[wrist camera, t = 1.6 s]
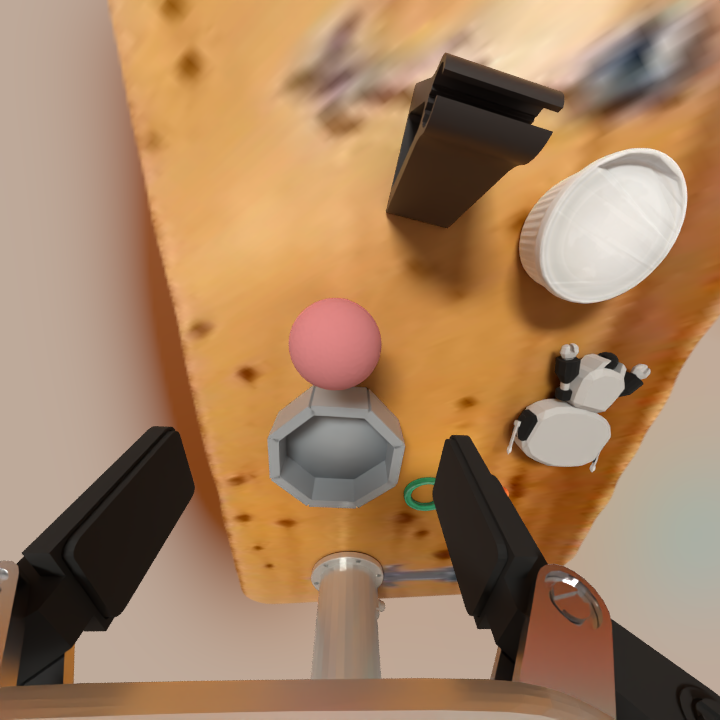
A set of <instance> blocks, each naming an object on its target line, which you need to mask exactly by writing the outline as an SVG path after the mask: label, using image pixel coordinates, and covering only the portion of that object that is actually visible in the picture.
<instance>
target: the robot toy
mask: <svg viewBox="0 0 720 720" xmlns="http://www.w3.org/2000/svg"><path fill="white" fill-rule="evenodd" d="M578 353H579V349H578V346H577V345H576V344H573V343H572V344H570V345H568V344H566V345H563V346H562V347H561V350H560V354H561V356H559V357H557V358H556V364H555V373H556V375H557V377H558V378H559V380H560V381H561V383H560V387H558V388H556V389H555V397H556V398H557V399H545V400H541V401H538V402H535V403H533V404H531V405H529V406H528V407H526V409H525V410H524V411H522V413H521V415H520V416H519V418H518V420H515V422H514V427H513V432H512V433H513V434H512V437H511V440H510V443H509V446H508V447H507V453H508V454H509V453H510V452H511V450H512V444H513V441H515V443H516V444H517V445H518V446H519V448H520V449H521V450H522V451H523V452H524V453H525V454H526V455H527V456H528V457H530V458H532V459H533V460H535V461H538V462H540V463H543V464H545V465H548V466H560V467H570V466H581V465H584V464H586V463H589V462H591V461H593V462H592V465H591V466H590V471H591V472H593V471H594V470H595V465H596V462H597V459H598V456H599V453H600V451H601V450H602V448H603V447H604V446H605V444H606V443H607V441H608V440H609V438H610V437H611V433H610V425H609V424H608V422H607V420H606V419H605V418H603V417H602V416H600V415H599V414H597V413H598V412H604V411H606V410H607V409H608V408H609V407H610V406H611V404H612V403H613V402H614V401H615V400H616V399H617V397H621V396H626V395H630V394H631V393H633V392H634V391H635V390H637V389H638V388H639V387H640V386H642V385H643V382H642V381H641V380H640V379H644V378H647V376H648V375H649V374H650V369H649V368H647V365H645V364H638V365H636V366H634V367H633V368H632V370H631V372H630V373H629V372H626V367H625V366H624V365H623V364H622V363H619V362H618V358H617V356H616V355H614V354H612V353H608V352H603V353H600V354H598V355H596V354H589V355H585V356H584V357H583V358H582V359H581V360H580V359H578V358H577V357H576V355H577V354H578ZM595 412H596V413H595Z"/></svg>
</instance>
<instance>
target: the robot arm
mask: <svg viewBox="0 0 720 720" xmlns="http://www.w3.org/2000/svg"><path fill="white" fill-rule="evenodd" d="M194 489H195V486H194V482H193V478H192V475H191V471H190V468H189V465H188V461H187V458H186V454H185V451H184V447H183V444H182V440H181V437H180V434H179V432H177V431H175V429H174V428H173V427H159V426H154V427H151V428H150V429H148V430H147V432H145V433H144V434H143V435H142V436H141V437H140V438H139V439H138V440H137V441H136V442H135V443H134V444H133V445H132V446H131V447H130V448H129V449H128V450H127V451H126V452H125V453H124V454H123V455H122V456H121V457H120V458H119V459H118V460H117V461H116V462H115V463H114V464H113V465H112V466H110V468H108V469H107V470H106V471H105V472H104V473H103V474H102V475H101V476H100V477H99V478H98V479H97V480H96V481H95V482H94V483H93V484H92V485H91V486H90V487H89V488H88V489H87V490H86V491H85V492H84V493H83V494H82V495H81V496H80V497H79V498H78V499H77V500H76V501H75V502H74V503H72V504H71V505H70V507H68V508H67V509H66V510H65V511H64V512H63V513H62V514H61V515H60V516H59V517H58V518H57V519H56V520H55V521H54V522H53V523H52V524H51V525H50V526H49V527H48V528H47V529H46V530H45V531H44V532H43V533H42V534H41V535H40V536H39V537H38V538H37V539H36V540H35V541H33V542H32V543H31V545H29V546H28V547H27V548H26V550H24V551H23V552H22V554H23V555H24V557H23V558H22V559H21V560H20V561H19V562H18V563H17V564H15V563H14V562H12V561H0V720H720V696H718V695H717V694H716V693H715V692H713V691H712V690H710V689H709V688H708V687H706V686H705V685H703V684H702V683H701V682H699V681H698V680H697V679H695V678H694V677H692V676H691V675H690V674H688V673H686V672H685V671H684V670H682V669H681V668H680V667H678V666H677V665H675V664H674V663H673V662H671V661H670V660H668V659H667V658H666V657H664V656H663V655H661V654H660V653H659V652H657V651H656V650H654V649H653V648H652V647H650V646H649V645H647V644H646V643H644V642H643V641H642V640H640V639H639V638H637V637H636V636H635V635H633V634H632V633H630V632H629V631H628V630H626V629H625V628H623V627H622V626H621V625H619V624H618V623H616V622H615V621H614V620H612V619H611V618H610V613H609V611H608V609H607V607H606V605H605V603H604V601H603V599H602V598H601V597H600V595H599V594H598V593H597V591H596V590H595V589H594V588H593V587H592V586H591V585H590V584H589V583H588V582H587V581H586V580H585V579H584V578H583V577H581V576H580V575H578V574H577V573H575V572H574V571H572V570H570V569H568V568H566V567H564V566H561V565H556V564H547V562H546V560H545V559H544V557H543V555H542V553H541V552H540V550H539V548H538V547H537V545H536V543H535V541H534V540H533V538H532V536H531V535H530V533H529V531H528V530H527V528H526V526H525V524H524V523H523V521H522V519H521V518H520V516H519V514H518V512H517V511H516V509H515V507H514V506H513V504H512V502H511V501H510V499H509V497H508V495H507V494H506V492H505V490H504V489H503V487H502V485H501V483H500V482H499V480H498V479H497V478H496V477H495V476H494V475H491V473H490V472H489V470H488V468H487V466H486V465H485V463H484V461H483V459H482V458H481V456H480V454H479V452H478V451H477V449H476V447H475V445H474V444H473V442H472V440H471V438H470V437H469V436H466V435H451V437H450V439H446V440H445V443H444V447H443V451H442V455H441V459H440V463H439V467H438V471H437V475H436V479H435V483H434V487H433V501H434V504H435V508H436V511H437V514H438V518H439V521H440V524H441V528H442V531H443V534H444V538H445V541H446V544H447V548H448V551H449V554H450V558H451V561H452V564H453V568H454V571H455V574H456V578H457V581H458V584H459V588H460V591H461V594H462V598H463V601H464V604H465V607H466V610H467V612H468V614H469V615H470V616H474V619H475V622H476V625H477V628H478V629H491V631H492V634H493V637H494V640H495V642H496V645H498V649H497V654H496V658H495V662H494V666H493V670H492V674H491V679H490V680H489V679H434V678H433V679H432V678H408V679H407V678H405V679H404V678H403V679H381V671H380V655H379V640H378V625H377V619H378V617H379V611H381V612H382V611H384V609H385V603H384V602H383V601H381V600H379V599H378V590H377V588H378V587H379V586H380V585H381V583H382V581H383V570H382V567H381V565H380V563H379V562H378V561H377V560H375V559H374V558H373V557H371V556H369V555H366V554H363V553H358V552H339V553H334V554H331V555H328V556H326V557H324V558H322V559H321V560H319V561H318V562H317V563H316V564H315V565H314V567H313V569H312V575H311V581H312V584H313V585H314V587H315V588H316V589H317V590H318V591H319V597H318V609H317V619H316V629H315V640H314V650H313V661H312V672H311V679H304V680H239V681H238V680H236V681H235V680H233V681H173V682H126V683H125V682H124V683H79V684H73V682H74V648H75V642H76V641H77V639H78V638H79V636H80V635H81V633H82V632H83V631H106V630H107V629H108V627H109V625H110V624H111V622H112V620H113V619H114V617H117V616H118V615H120V614H121V612H123V610H124V609H125V607H126V606H127V604H128V603H129V601H130V599H131V597H132V596H133V594H134V593H135V591H136V589H137V588H138V586H139V584H140V583H141V581H142V579H143V578H144V576H145V574H146V573H147V571H148V569H149V567H150V566H151V564H152V563H153V561H154V559H155V558H156V556H157V554H158V553H159V551H160V549H161V548H162V546H163V544H164V543H165V541H166V539H167V538H168V536H169V534H170V533H171V531H172V529H173V528H174V526H175V524H176V523H177V521H178V519H179V518H180V516H181V514H182V513H183V511H184V510H185V508H186V506H187V504H188V503H189V501H190V500H191V498H192V496H193V494H194Z"/></svg>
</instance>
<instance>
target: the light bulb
mask: <svg viewBox="0 0 720 720" xmlns="http://www.w3.org/2000/svg"><path fill="white" fill-rule="evenodd" d="M289 352H290V356H291V360H292V362H293V364H294V366H295V368H296V369H297V371H298V372H299V373H300V375H301V376H302V377H303V378H304V379H306V380H307V381H308V382H310V383H311V384H313V385H315V386H317V387H319V388H322V389H326V390H344V389H349V388H351V387H354V386H356V385H358V384H359V383H361V382H363V381H364V380H365V379H366V378H367V377H368V376H369V375H370V374H371V373H372V372H373V370H374V368H375V367H376V365H377V363H378V360H379V357H380V352H381V336H380V332H379V328H378V326H377V324H376V322H375V320H374V319H373V317H372V316H371V315H370V314H369V313H368V312H367V310H365V309H364V308H363V307H361V306H360V305H358V304H357V303H354V302H352V301H350V300H348V299H341V298H329V299H323V300H320V301H317V302H315V303H313V304H311V305H310V306H308V307H307V308H306V309H304V310H303V311H302V312H301V313H300V315H299V316H298V317H297V319H296V320H295V322H294V324H293V326H292V329H291V332H290V336H289Z"/></svg>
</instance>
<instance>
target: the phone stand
mask: <svg viewBox="0 0 720 720" xmlns="http://www.w3.org/2000/svg"><path fill="white" fill-rule="evenodd" d="M563 105H564V94H563V93H562V92H560V91H557V90H554V89H551V88H549V87H546V86H543V85H540V84H537V83H534V82H531V81H528V80H525V79H522V78H519V77H516V76H513V75H510V74H507V73H504V72H501V71H498V70H495V69H492V68H489V67H487V66H484V65H481V64H478V63H475V62H472V61H469V60H466V59H463V58H460V57H457V56H454V55H451V54H448V53H445V54H444V55H443V57H442V59H441V61H440V64H439V66H438V68H437V70H436V72H435V74H434V76H433V77H432V78H429V79H427V80H424V81H422V82H419V83H417V84H416V85H415V89H414V93H413V97H412V101H411V106H410V110H409V114H408V119H407V123H406V127H405V132H404V136H403V140H402V144H401V149H400V154H399V157H398V162H397V166H396V170H395V175H394V179H393V183H392V188H391V192H390V196H389V200H388V205H387V209H386V212H387V213H391V214H395V215H399V216H403V217H407V218H411V219H414V220H418V221H422V222H426V223H430V224H434V225H437V226H441V227H445V228H448V227H449V226H450V225H452V224H453V223H454V222H455V221H456V220H457V219H458V218H459V217H460V216H461V215H462V214H463V213H464V212H465V211H467V210H468V209H469V208H470V207H471V206H472V205H473V204H474V203H475V202H476V201H477V200H478V199H479V198H480V197H481V196H483V195H484V194H485V193H486V192H487V191H488V190H489V189H490V188H491V187H492V186H493V185H494V184H495V183H496V182H498V181H499V180H500V179H501V178H502V177H503V176H504V175H505V174H506V173H507V172H508V171H510V170H511V169H512V168H514V167H516V166H519V165H525V164H527V163H529V162H530V161H531V160H533V159H534V158H535V157H536V156H537V155H538V153H539V152H540V151H541V150H542V148H543V147H544V146H545V144H546V143H547V141H548V140H549V138H550V136H551V135H552V133H553V132H552V131H549V130H546V129H543V128H539V127H536V126H533V125H531V124H532V123H533V122H534V119H535V117H537V116H538V114H539V113H540V111H541V110H542V109H543V108H546V109H549V110H552V111H555V112H559V111H560V110H561V109H562V108H563Z"/></svg>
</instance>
